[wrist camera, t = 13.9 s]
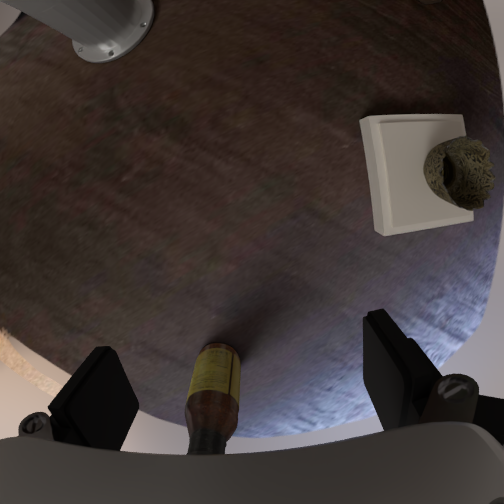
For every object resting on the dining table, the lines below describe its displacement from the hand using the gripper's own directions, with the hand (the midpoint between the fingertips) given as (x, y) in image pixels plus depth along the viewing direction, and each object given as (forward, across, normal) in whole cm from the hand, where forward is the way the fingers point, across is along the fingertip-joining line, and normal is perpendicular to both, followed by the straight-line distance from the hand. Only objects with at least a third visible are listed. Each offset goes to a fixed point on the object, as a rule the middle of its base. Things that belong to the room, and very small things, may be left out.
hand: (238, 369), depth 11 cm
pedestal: (+28, -22, -4) cm, 36 cm away
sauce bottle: (+28, +8, +18) cm, 35 cm away
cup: (+24, -22, -4) cm, 33 cm away
